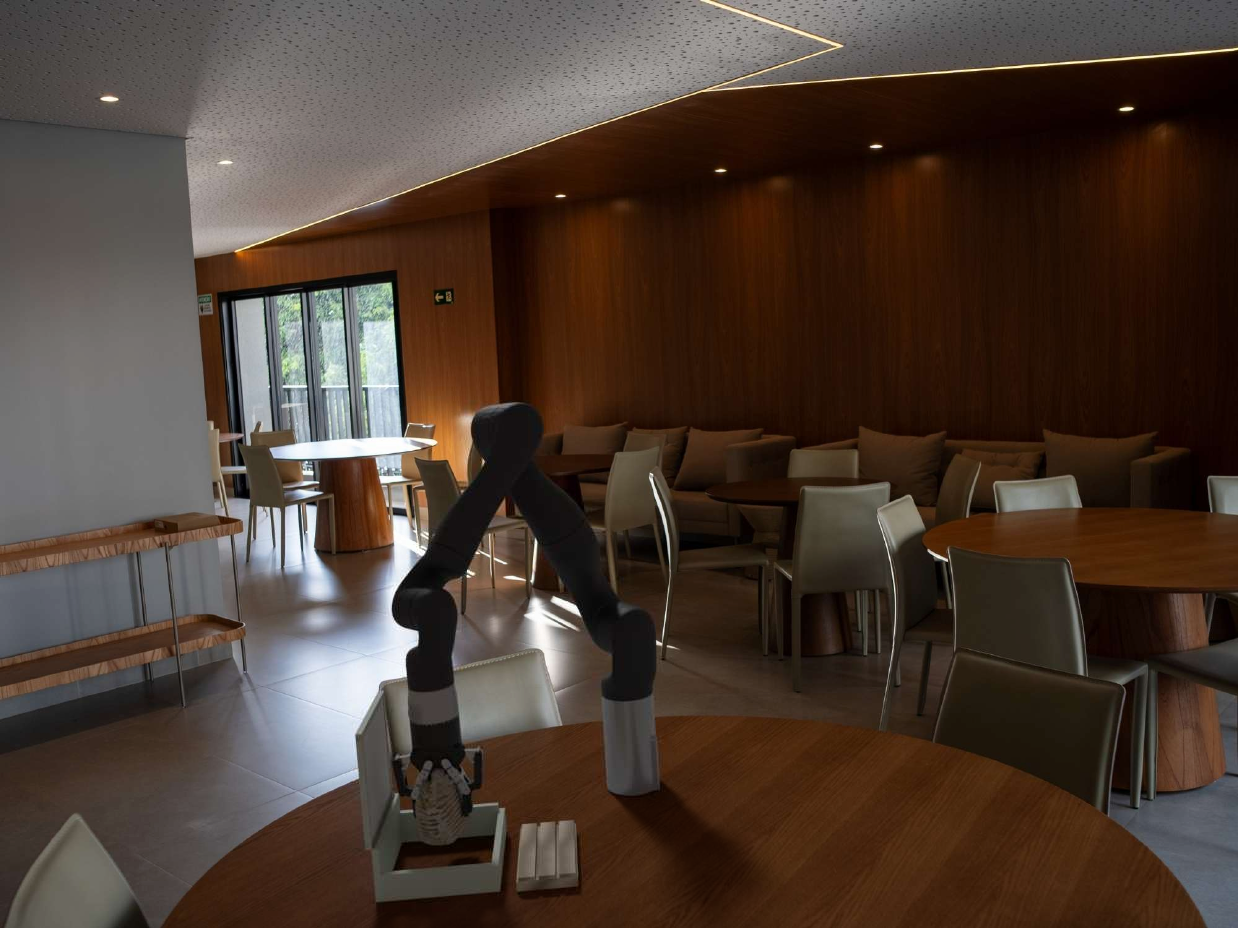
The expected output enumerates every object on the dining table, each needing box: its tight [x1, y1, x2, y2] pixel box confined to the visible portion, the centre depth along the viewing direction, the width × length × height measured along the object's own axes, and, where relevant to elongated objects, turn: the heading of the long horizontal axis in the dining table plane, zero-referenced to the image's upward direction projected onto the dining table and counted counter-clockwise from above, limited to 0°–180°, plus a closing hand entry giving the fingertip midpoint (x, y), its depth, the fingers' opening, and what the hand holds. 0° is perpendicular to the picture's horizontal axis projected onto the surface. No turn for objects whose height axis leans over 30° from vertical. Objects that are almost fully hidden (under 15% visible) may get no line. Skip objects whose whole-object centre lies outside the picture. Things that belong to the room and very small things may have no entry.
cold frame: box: [354, 690, 507, 903], centre depth 154 cm, size 19×19×25 cm
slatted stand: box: [516, 819, 580, 892], centre depth 155 cm, size 9×17×2 cm, turn 3°
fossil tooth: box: [415, 768, 473, 846], centre depth 155 cm, size 12×6×15 cm
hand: (444, 816), depth 155 cm, fingers closed on fossil tooth, 6 cm apart
